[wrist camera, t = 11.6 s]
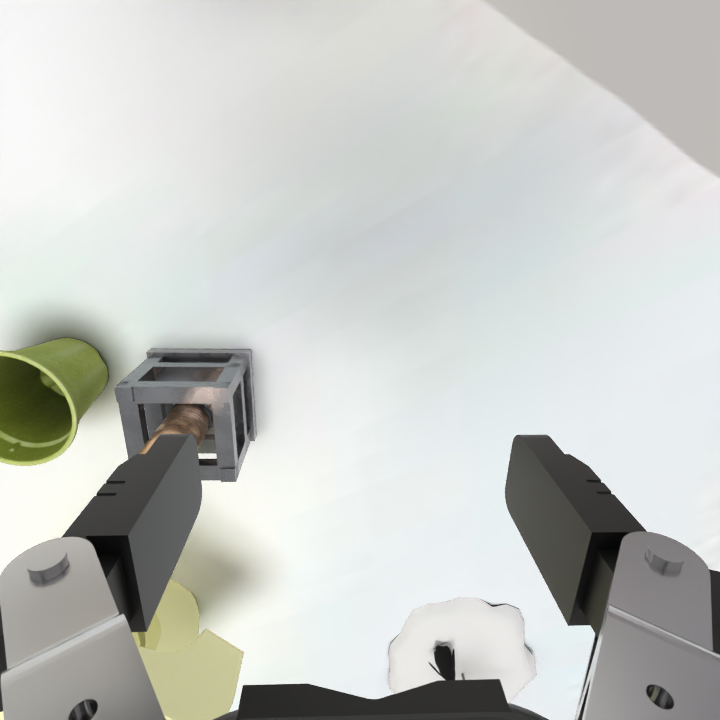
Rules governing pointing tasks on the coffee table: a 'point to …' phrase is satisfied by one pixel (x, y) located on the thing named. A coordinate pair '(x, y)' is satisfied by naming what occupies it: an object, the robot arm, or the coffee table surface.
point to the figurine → (461, 646)
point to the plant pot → (46, 398)
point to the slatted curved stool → (187, 660)
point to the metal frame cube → (193, 402)
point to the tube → (184, 422)
